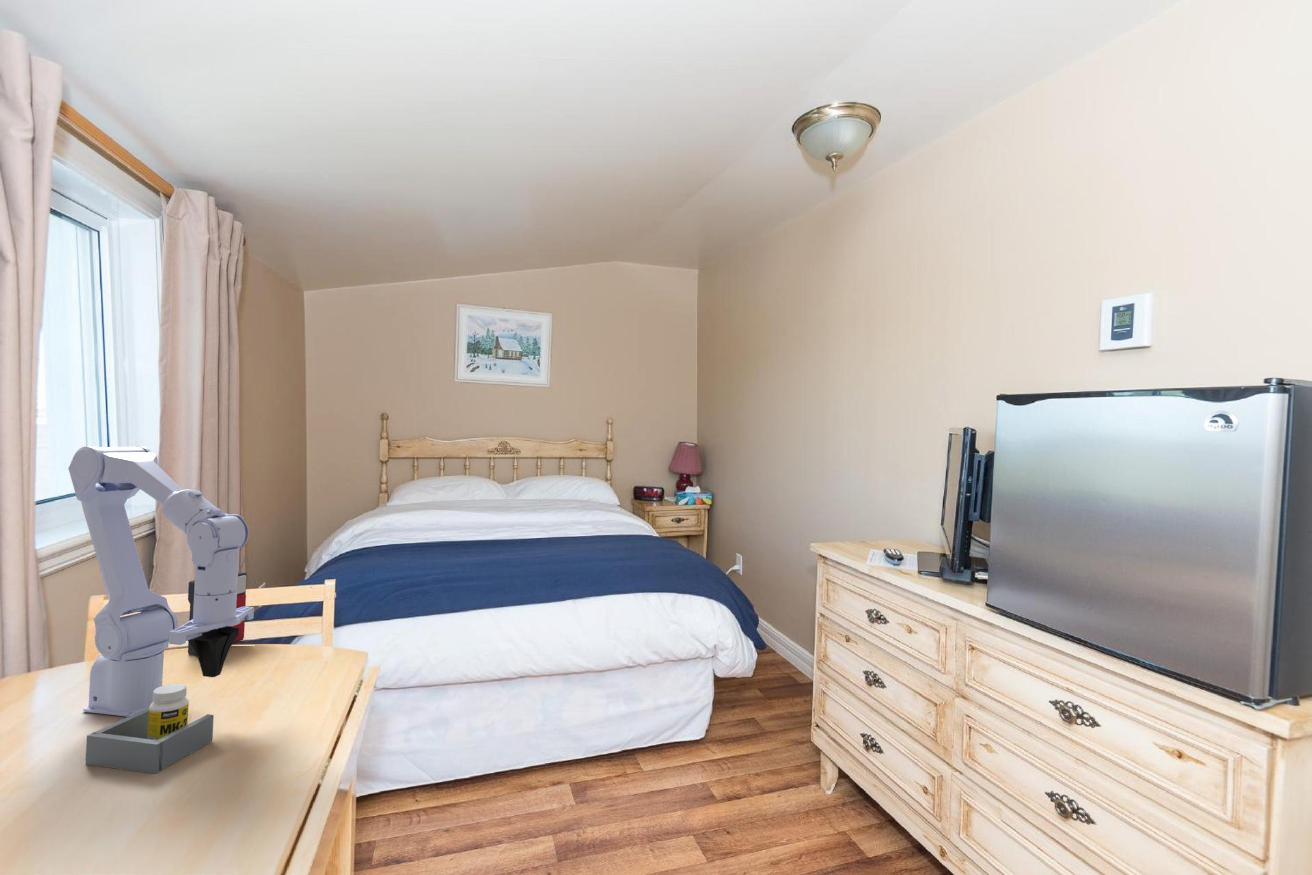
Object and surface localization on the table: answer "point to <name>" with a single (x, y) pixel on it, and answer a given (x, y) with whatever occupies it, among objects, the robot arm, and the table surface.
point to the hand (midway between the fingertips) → (211, 675)
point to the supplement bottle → (167, 711)
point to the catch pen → (145, 744)
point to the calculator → (239, 603)
